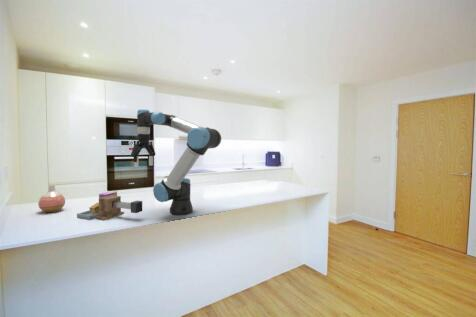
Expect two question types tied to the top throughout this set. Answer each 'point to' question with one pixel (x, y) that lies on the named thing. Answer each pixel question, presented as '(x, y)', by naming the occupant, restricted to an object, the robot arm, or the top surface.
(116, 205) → the shaft
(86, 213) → the tray
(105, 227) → the top surface
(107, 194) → the box
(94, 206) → the spacer
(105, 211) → the bearing block
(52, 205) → the vase
